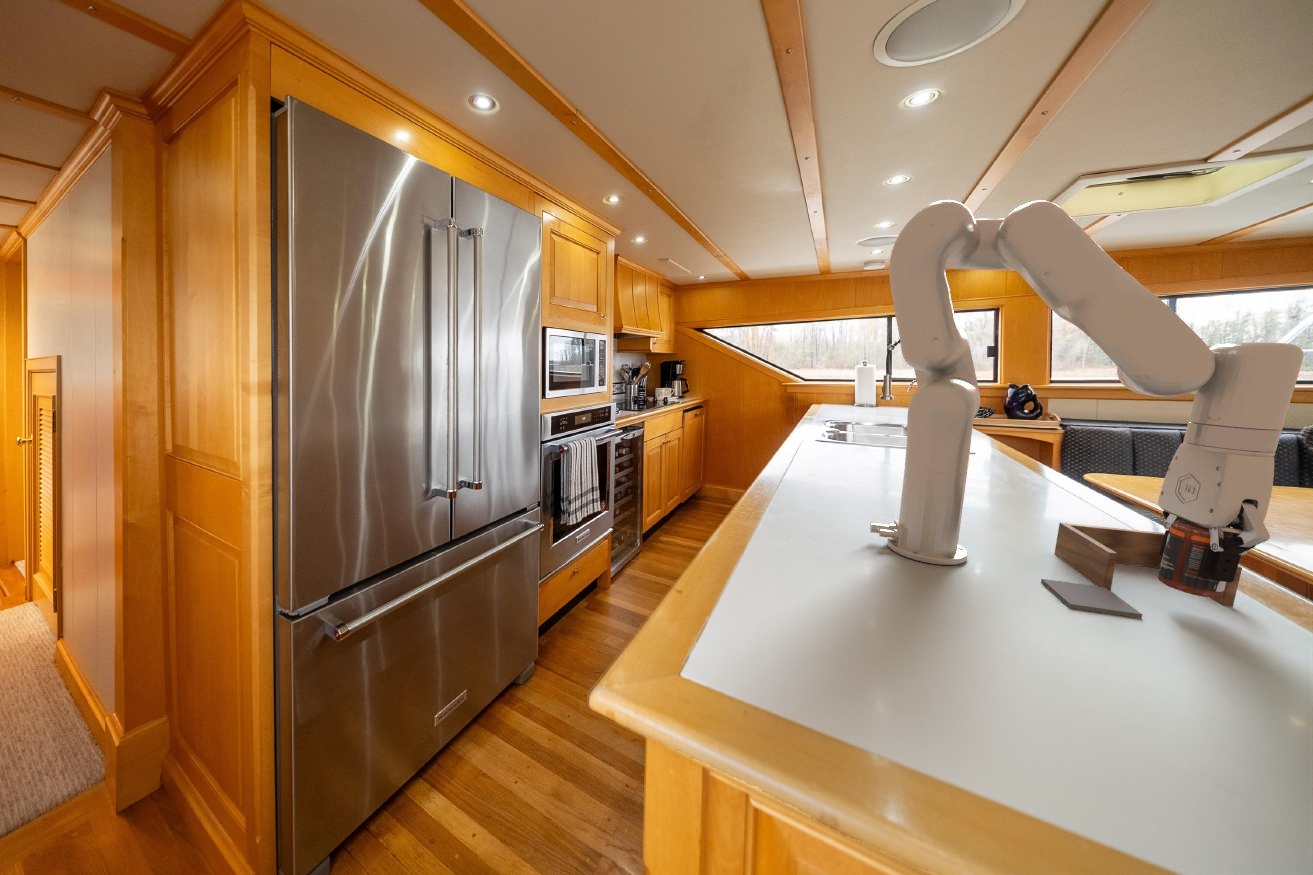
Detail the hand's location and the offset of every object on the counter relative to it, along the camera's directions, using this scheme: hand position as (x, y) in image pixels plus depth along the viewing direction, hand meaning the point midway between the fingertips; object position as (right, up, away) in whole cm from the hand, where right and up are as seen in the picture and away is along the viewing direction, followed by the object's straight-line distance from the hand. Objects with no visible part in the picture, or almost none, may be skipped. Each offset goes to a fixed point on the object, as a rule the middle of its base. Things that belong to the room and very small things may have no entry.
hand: (1193, 567), depth 61 cm
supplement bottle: (0, -3, +1) cm, 3 cm away
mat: (-10, -6, +5) cm, 13 cm away
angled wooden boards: (+4, -5, +12) cm, 14 cm away
